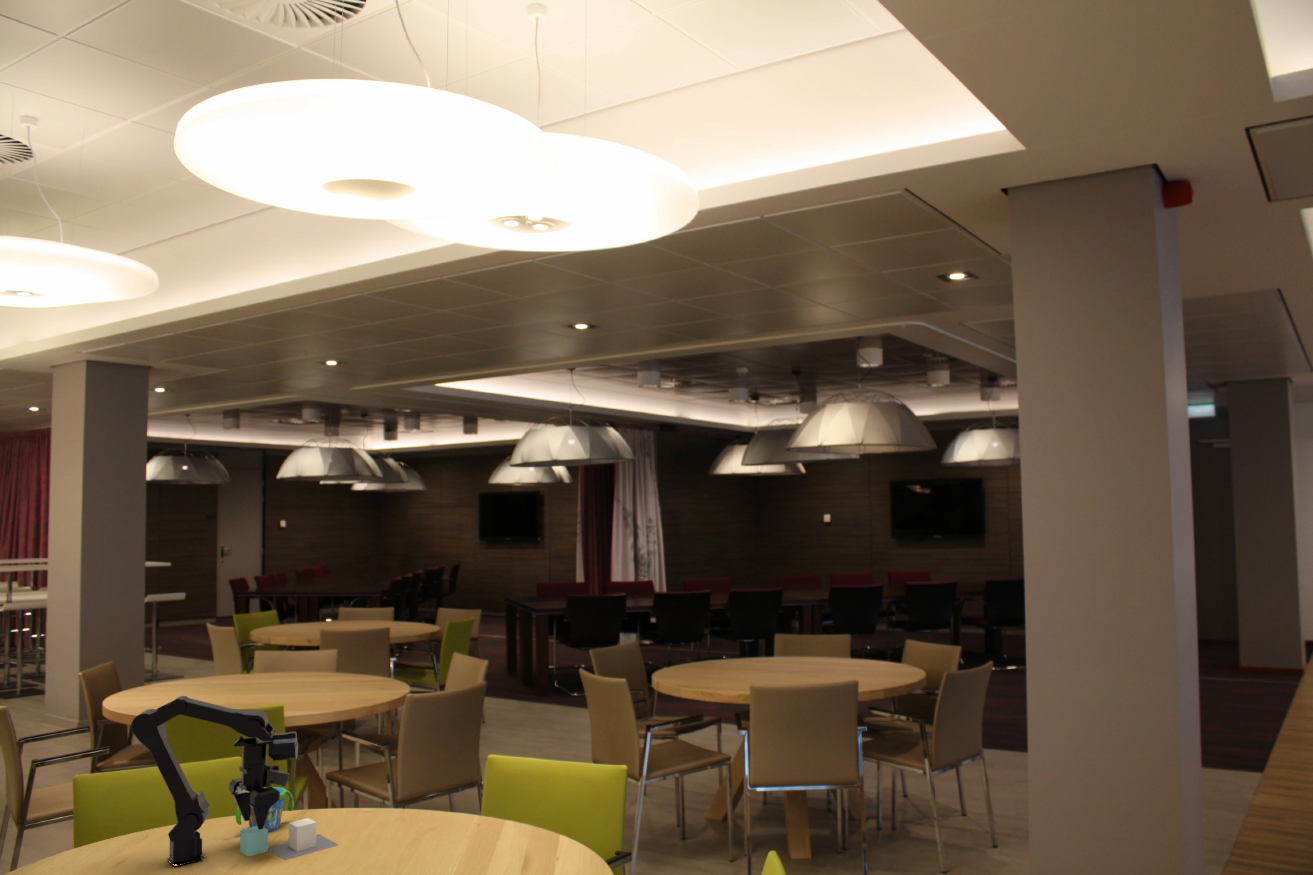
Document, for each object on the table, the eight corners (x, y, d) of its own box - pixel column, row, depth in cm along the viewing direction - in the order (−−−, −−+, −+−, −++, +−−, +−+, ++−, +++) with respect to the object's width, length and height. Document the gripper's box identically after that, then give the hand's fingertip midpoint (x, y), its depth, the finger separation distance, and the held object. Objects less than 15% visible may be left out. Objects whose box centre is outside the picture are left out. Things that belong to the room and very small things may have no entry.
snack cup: (285, 818, 266) (285, 781, 266) (301, 827, 258) (301, 789, 259) (228, 832, 255) (228, 794, 255) (242, 842, 247) (243, 802, 248)
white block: (297, 851, 238) (297, 826, 238) (288, 846, 241) (289, 822, 242) (316, 846, 241) (316, 822, 242) (307, 841, 245) (308, 817, 245)
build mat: (284, 862, 232) (284, 859, 232) (265, 850, 241) (265, 847, 241) (339, 847, 242) (339, 844, 242) (318, 836, 250) (318, 833, 250)
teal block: (247, 858, 235) (247, 834, 236) (240, 854, 239) (240, 829, 239) (267, 853, 239) (267, 829, 239) (260, 848, 242) (260, 824, 243)
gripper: (300, 762, 239) (300, 825, 238) (271, 749, 253) (271, 809, 251) (256, 771, 231) (255, 836, 230) (228, 757, 245) (227, 819, 244)
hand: (253, 824), depth 239 cm, fingers open, 9 cm apart
